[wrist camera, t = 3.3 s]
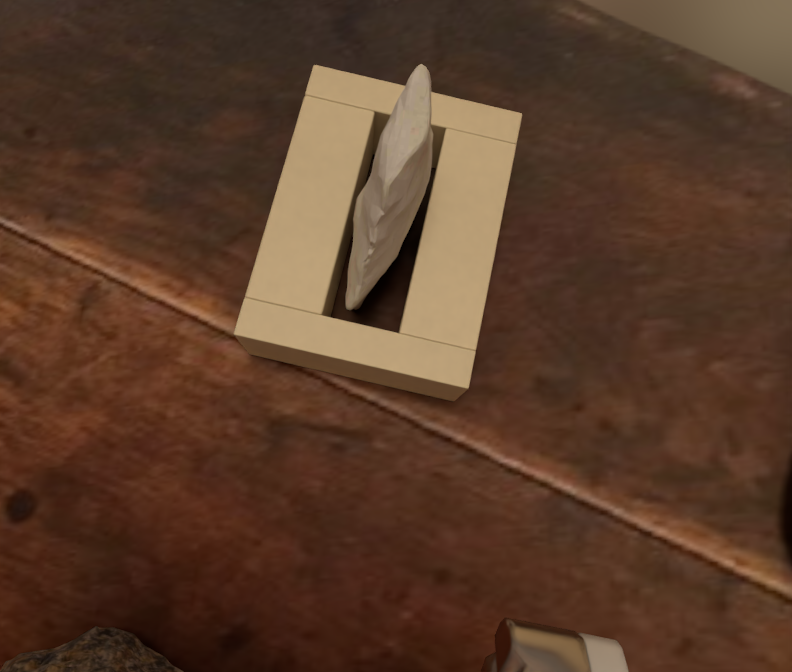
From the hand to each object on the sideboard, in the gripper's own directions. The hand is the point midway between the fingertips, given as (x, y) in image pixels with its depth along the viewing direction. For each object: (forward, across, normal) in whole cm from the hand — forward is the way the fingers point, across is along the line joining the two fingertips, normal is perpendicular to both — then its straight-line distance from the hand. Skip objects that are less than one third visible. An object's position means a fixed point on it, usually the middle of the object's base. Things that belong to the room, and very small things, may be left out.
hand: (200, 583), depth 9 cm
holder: (+21, -1, +2) cm, 21 cm away
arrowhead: (+21, -1, +2) cm, 22 cm away
